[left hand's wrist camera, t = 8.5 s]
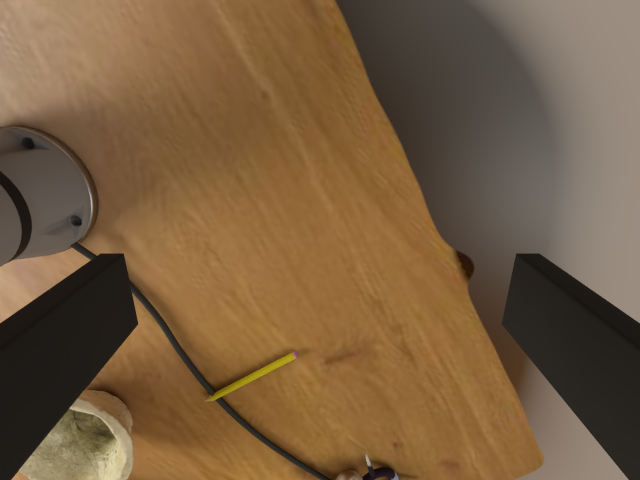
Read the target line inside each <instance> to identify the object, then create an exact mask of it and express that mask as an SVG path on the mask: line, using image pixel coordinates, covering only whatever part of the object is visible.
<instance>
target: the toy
mask: <svg viewBox="0 0 640 480" xmlns="http://www.w3.org/2000/svg"><path fill="white" fill-rule="evenodd" d="M366 461H367V465H368V469H369V472H368V473H367V474H366V475H364V476H363V477H362V476H361V475H360V474H359V473H358V472H356V471H353V470H346V471H343V472H341V473H340V474H339V475H338V476H337V478H336V480H374V479H376V478H379V477H384V476H386V477H389V478H391V480H399V478H398V475H397V473H396V472H395V471H394V470H392V469H390V468H386V467H382V468H377V469H374V470H373V467H372V465H371V463H370V460H369V458H368V456H367V455H366Z"/></svg>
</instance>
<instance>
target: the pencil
mask: <svg viewBox="0 0 640 480" xmlns="http://www.w3.org/2000/svg"><path fill="white" fill-rule="evenodd" d="M296 358H298V354H297V352H296V351H294V352H292V353H290V354H288V355H286V356H284V357H282V358H280V359H279V360H277V361H275V362H273V363H271V364H269V365H267V366H265V367H263V368H261V369H259V370H257V371H255V372H253V373H251V374H250V375H248V376H246V377H244V378H242V379H240V380H238V381H236V382H234V383H232V384H230V385H228V386H226V387H224V388H223V389H221V390H219V391H217V392H215V394H214V395H213V396H211V395H210V396H209V397H208V398H207V399H206V400H205V401H204V402H207V401H214V400H216V399H218V398H220V397H222V396H224V395H226V394H228V393H230V392H231V391H233V390H235V389H237V388H239V387H241V386H243V385H245V384H247V383H249V382H251V381H253V380H255V379H257V378H259V377H261V376H263V375H265V374H267V373H269V372H271V371H272V370H274V369H276V368H278V367H280V366H282V365H284V364H286V363H288V362H290V361H292V360H294V359H296Z"/></svg>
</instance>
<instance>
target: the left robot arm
mask: <svg viewBox="0 0 640 480" xmlns="http://www.w3.org/2000/svg"><path fill="white" fill-rule="evenodd" d="M97 214H98V196H97V191H96V187H95V184H94V182H93V179H92V177H91V175H90V173H89V171H88V170H87V168H86V166H85V165H84V164H83V162H82V161H81V160H80V158H79V157H78V156H77V155H76V154H75V153H74V152H73V151H72V150H71V149H70V148H69V147H67V146H66V145H65V144H64V143H62V142H61V141H59V140H58V139H56V138H54V137H53V136H51V135H49V134H47V133H44V132H42V131H39V130H36V129H32V128H27V127H20V126H10V127H0V266H2V265H4V264H6V263H8V262H10V261H12V260H17V259H25V258H32V257H40V256H47V255H52V254H56V253H59V252H62V251H65V250H67V249H69V248H71V247H72V248H74V249H75V250H77V251H78V252H80V253H81V254H83V255H84V256H86V257H87V258H89V259H90V260H91V261H89V262H88V263H87V264H85V265H84V266H82V267H81V268H79V269H78V270H77V271H75V272H74V273H72V274H71V275H69V276H68V277H66V278H65V279H64V280H62V281H61V282H59V283H58V284H56V285H55V286H53V287H52V288H51V289H49V290H48V291H46V292H45V293H43V294H42V295H41V296H39V297H38V298H36V299H35V300H33V301H32V302H30V303H29V304H28V305H26V306H25V307H23V308H22V309H20V310H19V311H17V312H16V313H15V314H13V315H12V316H10V317H9V318H7V319H6V320H5V321H3V322H2V323H0V480H11V479H12V478H13V477H14V476H15V474H16V473H17V472H18V471H19V469H20V468H21V467H22V466H23V465H24V463H25V462H26V461H27V460H28V458H29V457H30V456H31V455H32V454H33V452H34V451H35V450H36V449H37V447H38V446H39V445H40V444H41V443H42V441H43V440H44V439H45V438H46V436H47V435H48V434H49V433H50V431H51V430H52V429H53V428H54V427H55V425H56V424H57V423H58V422H59V420H60V419H61V418H62V417H63V416H64V414H65V413H66V412H67V411H68V409H69V408H70V407H71V406H72V405H73V403H74V402H75V401H76V400H77V398H78V397H79V396H80V395H81V394H82V392H83V391H84V390H85V389H86V387H87V386H88V385H89V384H90V383H91V381H92V380H93V379H94V378H95V376H96V375H97V374H98V373H99V371H100V370H101V369H102V368H103V367H104V365H105V364H106V363H107V362H108V360H109V359H110V358H111V357H112V356H113V354H114V353H115V352H116V351H117V349H118V348H119V347H120V346H121V345H122V343H123V342H124V341H125V340H126V338H127V337H128V336H129V335H130V334H131V332H132V331H133V330H134V329H135V327H136V326H137V325H138V321H137V316H136V311H135V306H134V301H133V296H132V293H133V294H134V295H135V296H136V297H137V298H138V299H139V301H140V302H141V303H142V304H143V305H144V306H145V308H146V309H147V310H148V311H149V312H150V313H151V315H152V316H153V317H154V318H155V320H156V321H157V322H158V324H159V325H160V327H161V328H162V330H163V331H164V333H165V334H166V336H167V338H168V339H169V341H170V342H171V344H172V346H173V347H174V349H175V350H176V352H177V353H178V354H179V356H180V357H181V358H182V360H183V361H184V363H185V364H186V365H187V367H188V368H189V369H190V370H191V372H192V373H193V374H194V376H195V377H196V378H197V379H198V381H199V382H200V383H201V384H202V385H203V387H204V388H205V389H206V390H207V391H208V392H209V393H210V395H211V396H213V395H214V394H215V392H216V391H215V390H214V389H213V388H212V387H211V386H210V385H209V383H208V382H207V381H206V380H205V379H204V377H203V376H202V375H201V374H200V372H199V371H198V370H197V368H196V367H195V366H194V365H193V363H192V362H191V360H190V359H189V358H188V356H187V355H186V354H185V352H184V351H183V349H182V348H181V346H180V345H179V343H178V342H177V340H176V339H175V337H174V335H173V334H172V332H171V331H170V329H169V327H168V326H167V324H166V323H165V321H164V320H163V319H162V317H161V316H160V315H159V313H158V312H157V311H156V310H155V308H154V307H153V306H152V305H151V304H150V302H149V301H148V300H147V299H146V298H145V297H144V295H143V294H142V293H141V292H140V291H139V290H138V289H137V288H136V287H135V286H134V285H133V284H132V283H131V282H130V281H129V277H128V272H127V267H126V262H125V258H124V254H100V255H98V256H96V255H95V254H93V253H92V252H90V251H89V250H87V249H86V248H84V247H83V246H81V245H80V244H79V242H80V241H82V240H83V239H84V238H85V237H86V236H87V235H88V234H89V233H90V231H91V230H92V228H93V226H94V224H95V221H96V218H97ZM502 325H503V326H504V327H505V329H506V330H507V331H508V332H509V333H510V335H511V336H512V337H513V338H514V340H515V341H516V342H517V343H518V345H519V346H520V347H521V348H522V349H523V351H524V352H525V353H526V354H527V356H528V357H529V358H530V359H531V360H532V362H533V363H534V364H535V365H536V367H537V368H538V369H539V370H540V371H541V373H542V374H543V375H544V376H545V377H546V379H547V380H548V381H549V382H550V384H551V385H552V386H553V387H554V389H555V390H556V391H557V392H558V394H559V395H560V396H561V397H562V398H563V400H564V401H565V402H566V403H567V405H568V406H569V407H570V408H571V409H572V411H573V412H574V413H575V414H576V416H577V417H578V418H579V419H580V420H581V422H582V423H583V424H584V425H585V427H586V428H587V429H588V430H589V431H590V433H591V434H592V435H593V436H594V438H595V439H596V440H597V441H598V442H599V444H600V445H601V446H602V447H603V449H604V450H605V451H606V452H607V453H608V455H609V456H610V457H611V458H612V460H613V461H614V462H615V463H616V465H617V466H618V467H619V468H620V469H621V471H622V472H623V473H624V474H625V476H626V477H627V478H628V479H629V480H640V323H638V322H637V321H635V320H634V319H633V318H631V317H630V316H628V315H627V314H625V313H624V312H622V311H621V310H620V309H618V308H617V307H615V306H614V305H612V304H611V303H609V302H608V301H607V300H605V299H604V298H602V297H601V296H599V295H598V294H597V293H595V292H594V291H592V290H591V289H589V288H588V287H586V286H585V285H583V284H582V283H581V282H579V281H578V280H576V279H575V278H574V277H572V276H571V275H569V274H568V273H566V272H565V271H563V270H562V269H561V268H559V267H558V266H556V265H555V264H553V263H552V262H551V261H549V260H548V259H546V258H545V257H543V256H542V255H540V254H516V258H515V262H514V267H513V272H512V277H511V282H510V287H509V292H508V296H507V301H506V306H505V311H504V316H503V321H502ZM216 401H217V402H218V403H219V404H220V405H221V406H222V407H223V408H224V409H225V410H226V411H227V412H228V413H229V414H230V415H231V416H232V417H233V418H234V419H235V420H236V421H237V422H238V423H240V424H241V425H242V426H243V427H244V428H245V429H247V430H248V431H249V432H250V433H251V434H253V435H254V436H255V437H256V438H258V439H259V440H260V441H262V442H263V443H264V444H266V445H267V446H269V447H270V448H271V449H273V450H274V451H276V452H277V453H279V454H280V455H282V456H283V457H285V458H286V459H288V460H289V461H291V462H292V463H294V464H295V465H297V466H299V467H300V468H302V469H304V470H305V471H307V472H309V473H311V474H312V475H314V476H316V477H317V478H319V479H321V480H331V479H330V478H328V477H326V476H324V475H323V474H321V473H319V472H318V471H316V470H314V469H313V468H311V467H309V466H308V465H306V464H304V463H303V462H301V461H299V460H298V459H296V458H294V457H293V456H291V455H290V454H288V453H287V452H285V451H284V450H282V449H281V448H279V447H278V446H277V445H275V444H274V443H272V442H271V441H269V440H268V439H267V438H265V437H264V436H263V435H261V434H260V433H259V432H258V431H256V430H255V429H254V428H253V427H252V426H250V425H249V424H248V423H247V422H246V421H245V420H243V419H242V418H241V417H240V416H239V415H238V414H237V413H236V412H235V411H234V410H233V409H232V408H231V407H230V406H229V405H228V404H227V403H226V402H225V401H224V400H223V399H222V398H221V397H220V398H218V399H216Z"/></svg>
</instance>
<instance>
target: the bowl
mask: <svg viewBox="0 0 640 480" xmlns="http://www.w3.org/2000/svg"><path fill="white" fill-rule="evenodd" d="M132 425H133V421H132V417H131V414H130V412H129V410H128V408H127V406H126V405H125V404H124V403H123V402H122V401H121V400H120V399H119V398H117V397H115V396H113V395H111V394H109V393H107V392H104V391H96V390H84V391H83V392H82V394H81V395H80V396H79V397H78V398H77V400H76V401H75V402H74V403H73V405H72V406H71V407H70V408H69V409H68V411H67V412H66V413H65V414H64V416H63V417H62V418H61V419H60V420H59V422H58V423H57V424H56V425H55V427H54V428H53V429H52V430H51V431H50V433H49V434H48V435H47V436H46V438H45V439H44V440H43V441H42V443H41V444H40V445H39V446H38V447H37V449H36V450H35V451H34V452H33V454H32V455H31V456H30V457H29V458H28V460H27V461H26V462H25V463H24V465H23V466H22V467H21V468H20V469H19V471H20V472H21V473H22V474H24V475H26V476H27V477H28V478H29V479H30V480H127V478H128V477H129V475H130V473H131V470H132V467H133V461H134V445H133V440H132V437H131V435H130V433H131V430H132Z"/></svg>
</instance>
